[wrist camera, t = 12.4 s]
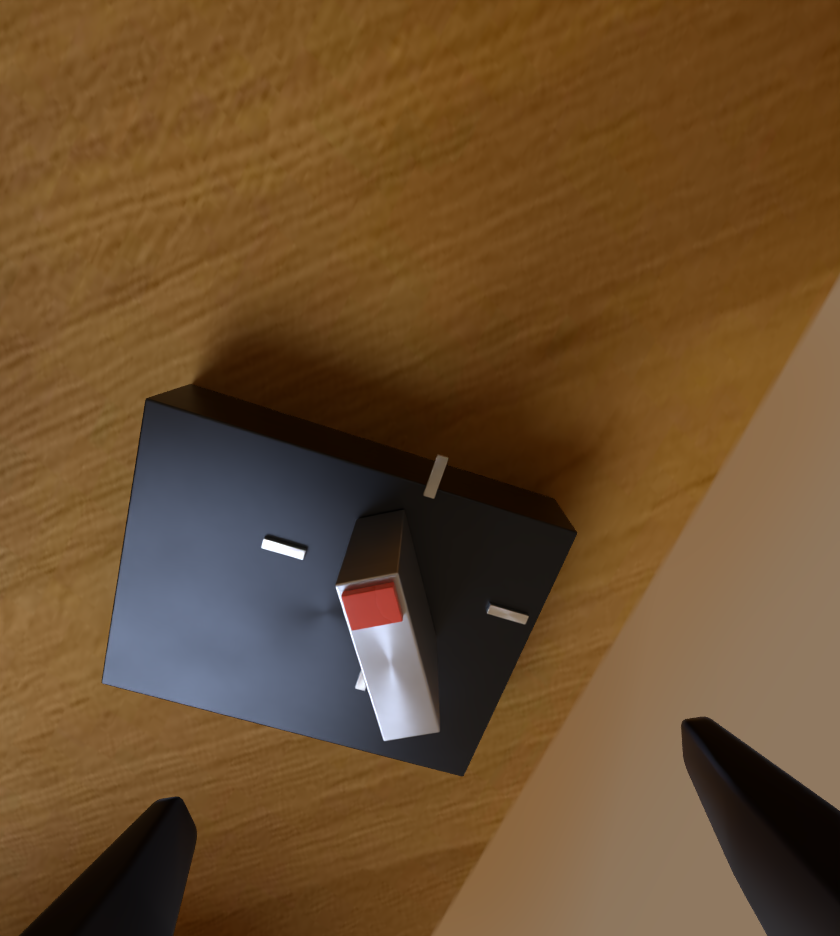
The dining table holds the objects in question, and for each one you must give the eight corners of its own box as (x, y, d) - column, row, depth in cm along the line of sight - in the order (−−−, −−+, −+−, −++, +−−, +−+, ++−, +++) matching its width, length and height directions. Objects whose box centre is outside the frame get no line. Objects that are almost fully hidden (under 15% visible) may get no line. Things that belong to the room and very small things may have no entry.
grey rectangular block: (436, 638, 17) (440, 740, 13) (392, 646, 17) (382, 750, 13) (404, 508, 16) (397, 578, 12) (355, 518, 16) (332, 590, 12)
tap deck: (566, 472, 18) (594, 504, 15) (458, 716, 22) (463, 781, 19) (195, 352, 17) (147, 362, 14) (144, 632, 21) (97, 687, 18)
